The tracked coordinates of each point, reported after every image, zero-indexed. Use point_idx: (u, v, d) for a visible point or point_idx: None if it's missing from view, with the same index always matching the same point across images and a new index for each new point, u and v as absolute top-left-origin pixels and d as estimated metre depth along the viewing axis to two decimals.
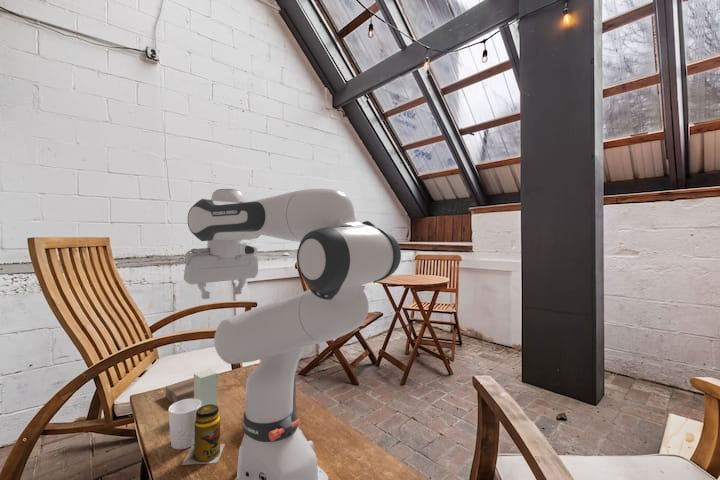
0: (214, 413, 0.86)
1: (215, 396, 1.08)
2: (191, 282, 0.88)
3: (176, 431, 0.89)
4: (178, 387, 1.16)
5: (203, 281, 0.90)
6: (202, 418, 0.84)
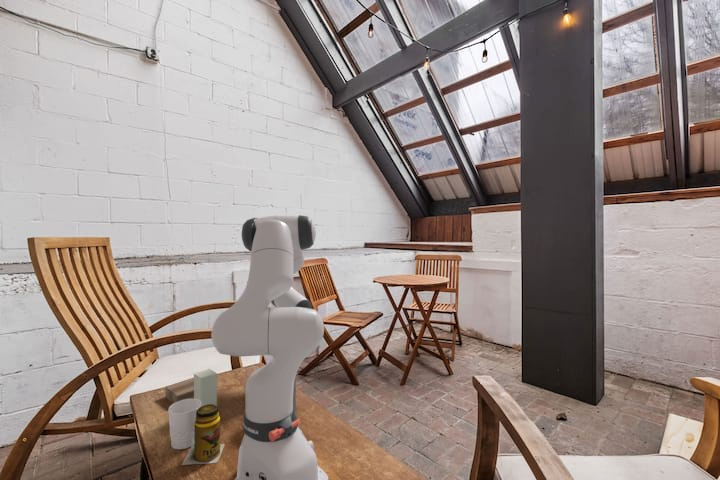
0: (214, 413, 0.86)
1: (215, 396, 1.08)
2: None
3: (176, 431, 0.89)
4: (178, 387, 1.16)
5: None
6: (202, 418, 0.84)
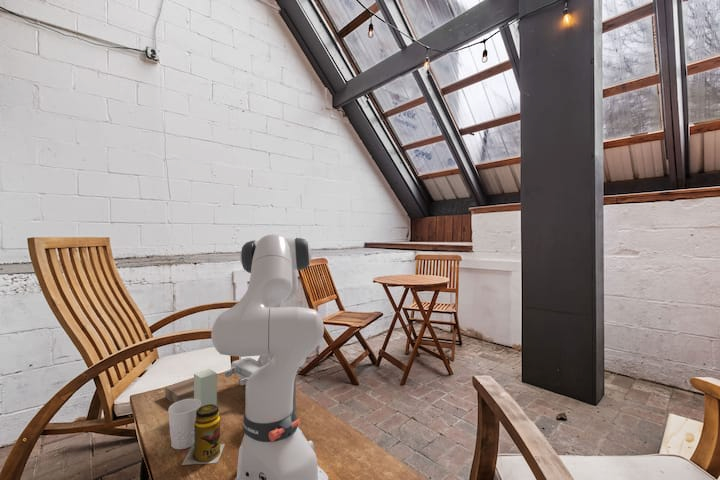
0: (214, 413, 0.86)
1: (215, 396, 1.08)
2: (232, 362, 1.25)
3: (176, 431, 0.89)
4: (178, 388, 1.16)
5: (237, 364, 1.23)
6: (202, 418, 0.84)
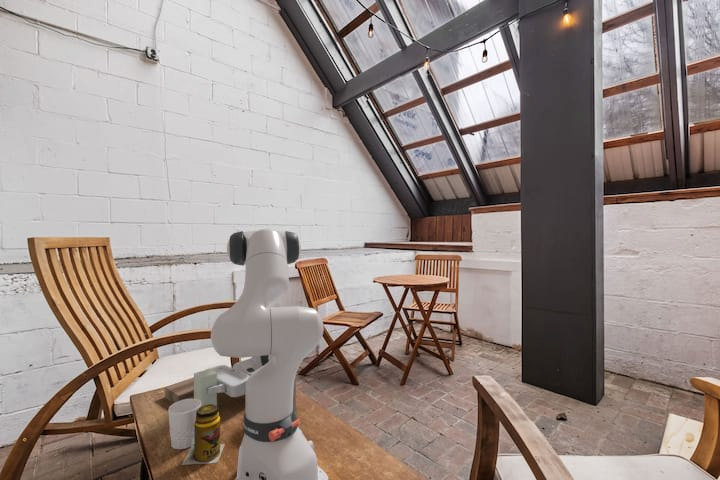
0: (214, 413, 0.86)
1: (215, 396, 1.08)
2: None
3: (176, 431, 0.89)
4: (178, 388, 1.16)
5: None
6: (202, 418, 0.84)
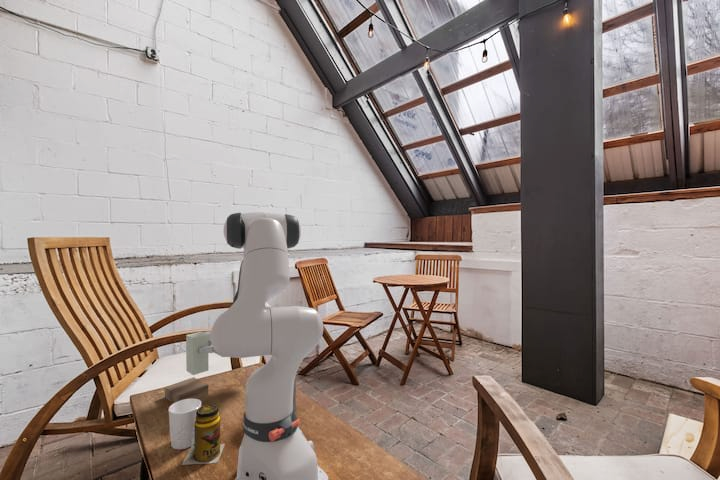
0: (214, 413, 0.86)
1: (207, 357, 1.13)
2: None
3: (176, 431, 0.89)
4: (178, 388, 1.16)
5: None
6: (202, 418, 0.84)
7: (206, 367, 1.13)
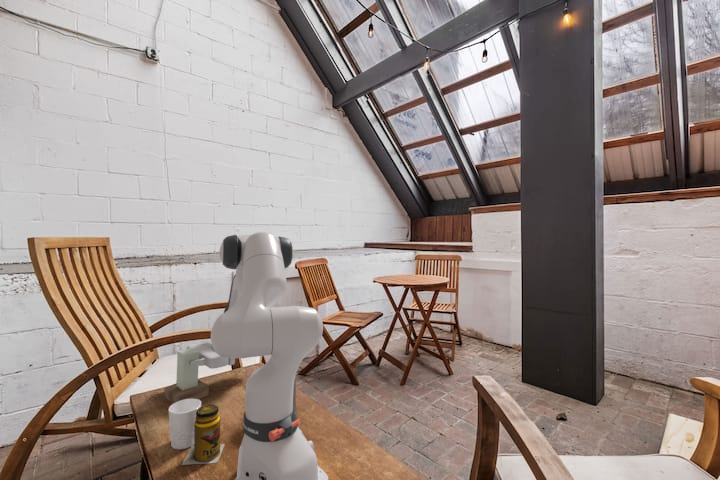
0: (214, 413, 0.86)
1: (196, 373, 1.18)
2: None
3: (176, 431, 0.89)
4: (178, 388, 1.16)
5: (191, 347, 1.25)
6: (202, 418, 0.84)
7: (195, 383, 1.17)
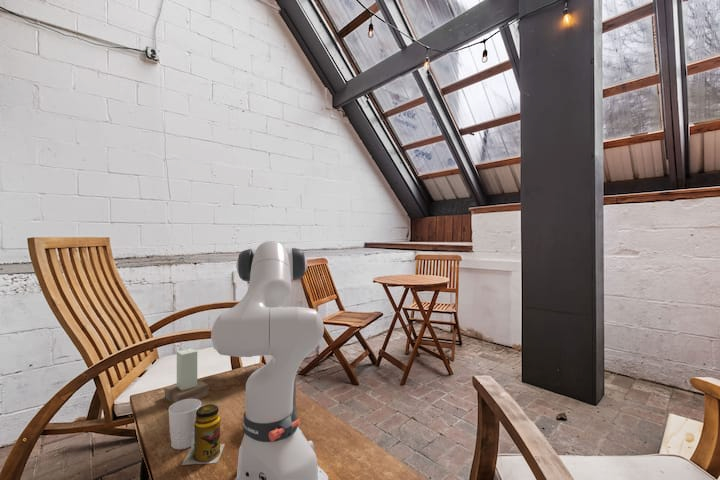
0: (214, 413, 0.86)
1: (195, 373, 1.17)
2: None
3: (176, 431, 0.89)
4: (178, 388, 1.16)
5: None
6: (202, 418, 0.84)
7: (195, 383, 1.17)
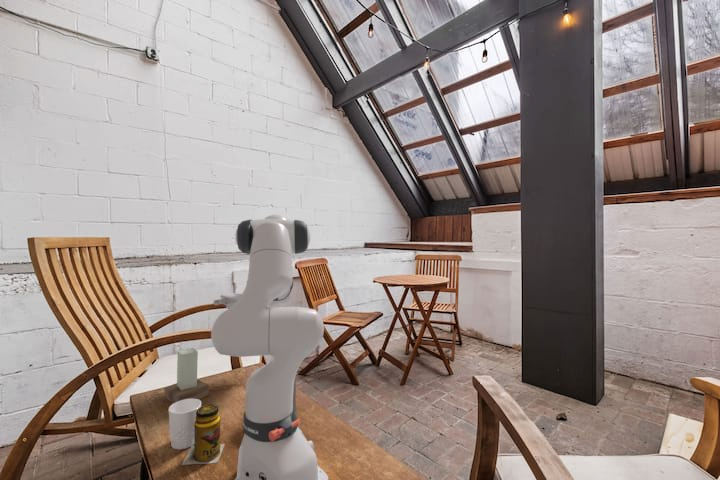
0: (214, 413, 0.86)
1: (195, 373, 1.17)
2: None
3: (176, 431, 0.89)
4: (178, 388, 1.16)
5: (225, 295, 1.34)
6: (202, 418, 0.84)
7: (194, 383, 1.17)
